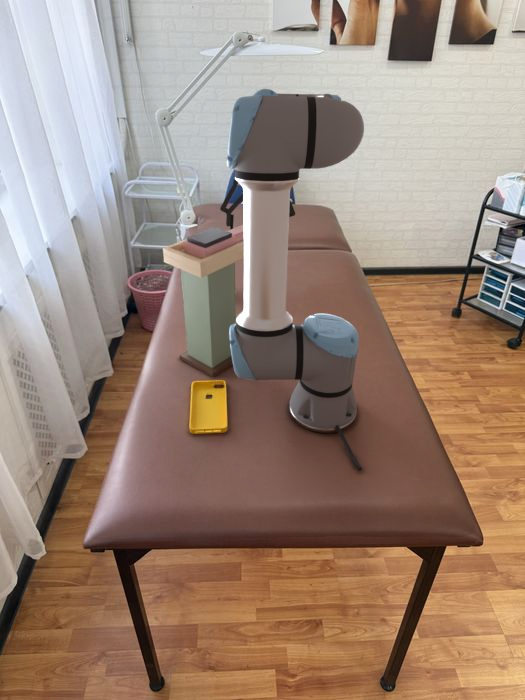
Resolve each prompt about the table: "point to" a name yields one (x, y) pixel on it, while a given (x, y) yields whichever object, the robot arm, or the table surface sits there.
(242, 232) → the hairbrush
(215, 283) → the stand
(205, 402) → the phone case
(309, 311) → the table surface
